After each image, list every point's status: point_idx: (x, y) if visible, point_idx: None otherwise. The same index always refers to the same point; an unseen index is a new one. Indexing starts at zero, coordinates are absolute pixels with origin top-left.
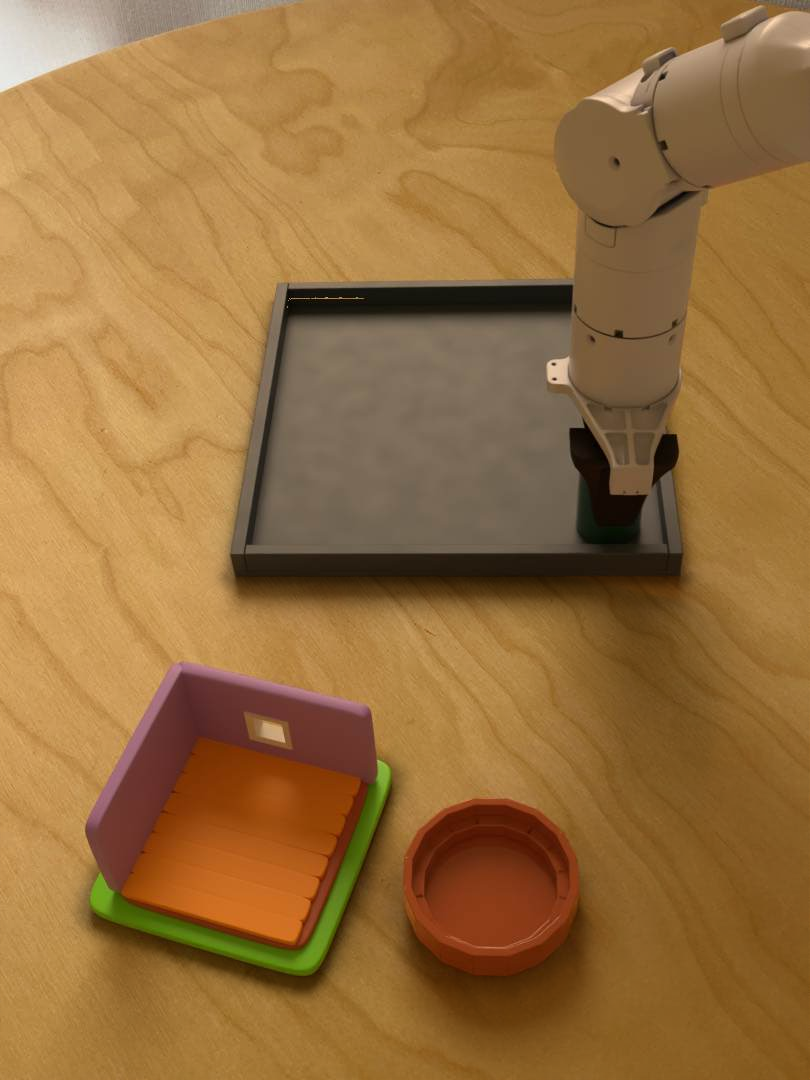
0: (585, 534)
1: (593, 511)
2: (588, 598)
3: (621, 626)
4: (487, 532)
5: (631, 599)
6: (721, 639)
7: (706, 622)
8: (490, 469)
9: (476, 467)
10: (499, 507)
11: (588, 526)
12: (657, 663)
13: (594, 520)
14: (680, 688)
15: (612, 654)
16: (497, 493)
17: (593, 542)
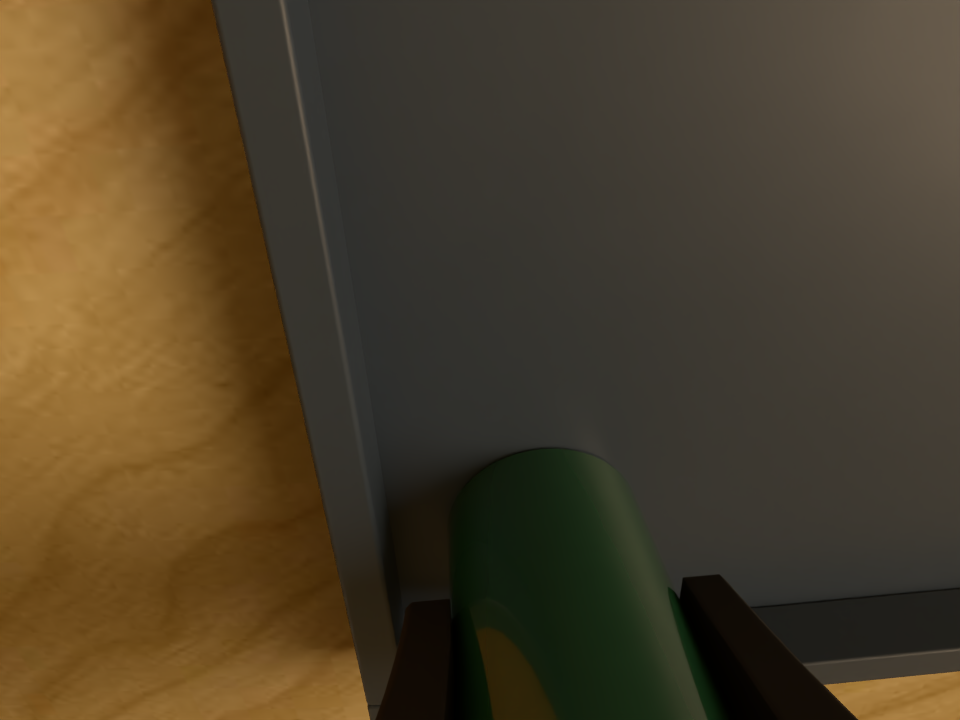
0: (474, 490)
1: (390, 674)
2: (259, 477)
3: (177, 551)
4: (493, 162)
5: (280, 567)
6: (201, 713)
7: (244, 691)
8: (845, 153)
9: (872, 90)
10: (628, 203)
11: (470, 528)
12: (80, 620)
13: (407, 621)
14: (21, 659)
15: (68, 537)
16: (705, 190)
17: (457, 498)
